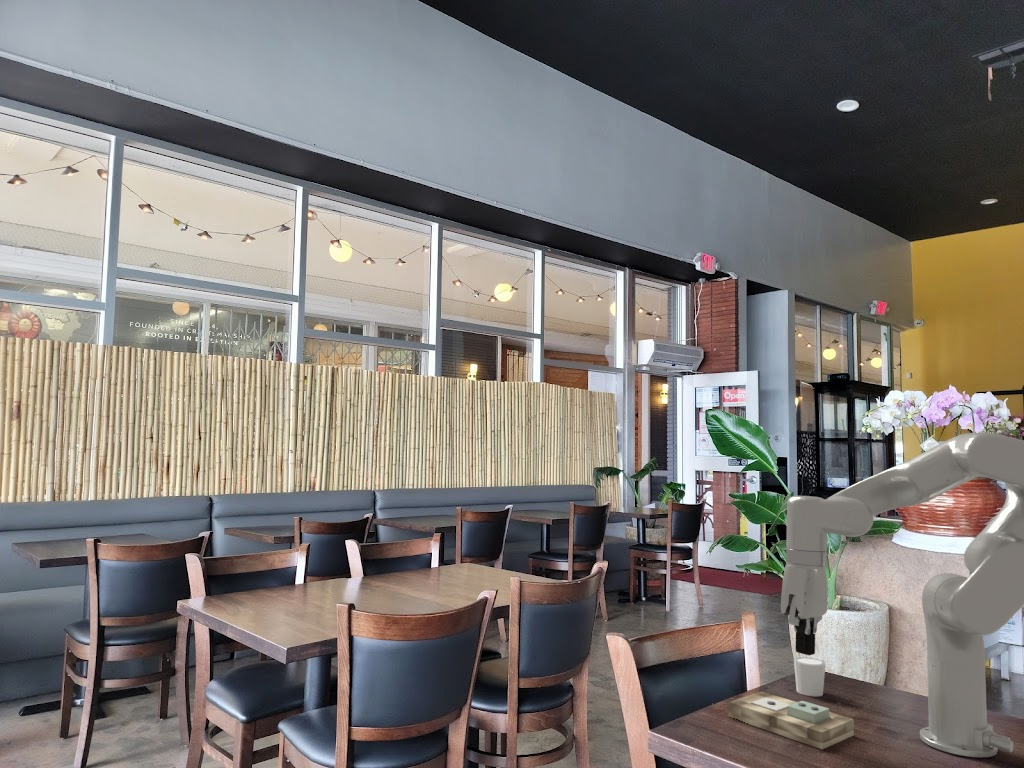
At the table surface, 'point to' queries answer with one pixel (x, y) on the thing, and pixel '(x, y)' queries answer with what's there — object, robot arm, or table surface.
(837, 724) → the tile board
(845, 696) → the table surface
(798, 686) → the white cup
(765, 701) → the one dot tile
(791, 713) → the two dot tile
